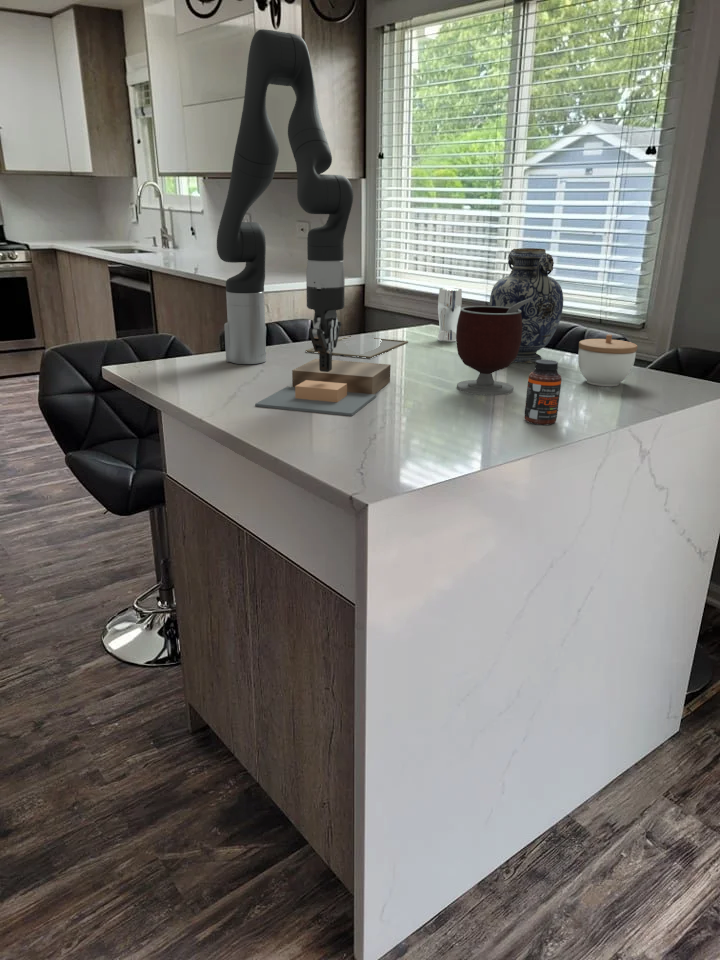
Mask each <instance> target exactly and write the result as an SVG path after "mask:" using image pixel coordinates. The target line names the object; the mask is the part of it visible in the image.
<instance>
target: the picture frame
mask: <svg viewBox="0 0 720 960" xmlns="http://www.w3.org/2000/svg"><path fill="white" fill-rule="evenodd" d="M351 336H352V335H347V336H344V337H341V338H338V341H337V345H336V348H334V350H333V352H331V353H332V356H336V355H344V356H343V357H346V356H359V357H366V358H372V357H374V356H376V357H378V356H377V355H379V356H381V355H383V354H385V352H386V353H388V352H391V351H392V349H393V350H395V349H397V348H400V347H401V346H404V345H407V344H409V341H408V340H402V339H401V340H399V339H391V338H377V337H376V338H375V337H373V338H374V339H381V340H382V342H381V341H380V342H381V343H380V346H379V347H378V348H376V349H374V350H371V351H368V352H365V353H364V354H360V353H359V354H356V352H354V351H351V350H349V349H348V346H346V343H349V342H346V343H343V342H345V341H350V340H342V339H349V338H345V337H351ZM306 351H307V352H318V351H315V350H314V347H312V348H307V349H305V352H306ZM382 353H383V354H382ZM380 354H381V355H380ZM374 358H375V357H374ZM372 359H373V358H372Z"/></svg>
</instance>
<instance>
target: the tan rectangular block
mask: <svg viewBox="0 0 720 960" xmlns="http://www.w3.org/2000/svg"><path fill="white" fill-rule="evenodd" d="M346 396H347V384H345V383H334V382H323V381H311V380H305V381H304V382H302V383H300V384H298V385H296V386H295V398H298V399H308V400H319V401H329V402H339V401H340V400H341V399H343V398H344V397H346Z"/></svg>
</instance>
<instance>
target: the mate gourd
mask: <svg viewBox="0 0 720 960" xmlns="http://www.w3.org/2000/svg"><path fill="white" fill-rule="evenodd" d="M528 302H533V298H530V299H526V300H524V301H521V302H519V303H517V304H515V305H513V306H512V307H511V308H509V307H499V306H490V305H473V306H472V305H471V306H463V307H462V306H461V309H460V310H461V311H460V314H459V318H458V323H457V330H456V341H455V343H456V351H457V355H458V357H459V359H460V361H462V363H463V364H464V365H465V366H466V367H468V368H471V369H473V370H475V371H476V372H478V373H479V375H478V376H477V379H467V380H462V381H460V382H457V383H456V389H457V390H458V391H460V392H463V393H466V394H471V395H476V394H478V396H503V395H508V393H509V394H511V393H513V392H512V391H513V390H514V386H513V385H512V384H509V383H507V382H504V381H499V380H494V377H493V373H495V372H497V371H500V370H503V369H506V368H508V367H510V366H511V364H512V363H514V362H513V361H514V360H515V359H516V357H517V355H518V352H519V348H520V344H521V339H522V316H521V310H519V308H520V307H521V306H523V305H524V304H526V303H528Z"/></svg>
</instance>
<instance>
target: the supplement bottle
mask: <svg viewBox="0 0 720 960" xmlns="http://www.w3.org/2000/svg"><path fill="white" fill-rule="evenodd" d="M558 365H559V362H558V361H556V360H553V359H541V360H537V361H536V362H535V364H534V370H533V371H531V372H530V373H529V375H528V378H527V379H528V381H527V387H526V388H527V389H526V398H525V406H524V407H525V408H524V416H523V418H524V420H525V421H526V422H528V423H529V424H530V423H531V424H532V423H533V425H538V426H540V425H541V426H548V425H549V424H550V425H553V424H556V423H557V417H558V412H559V403H560V393H561V387H562V376H561V375H562V374H560V373H558V368H559V366H558Z"/></svg>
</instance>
